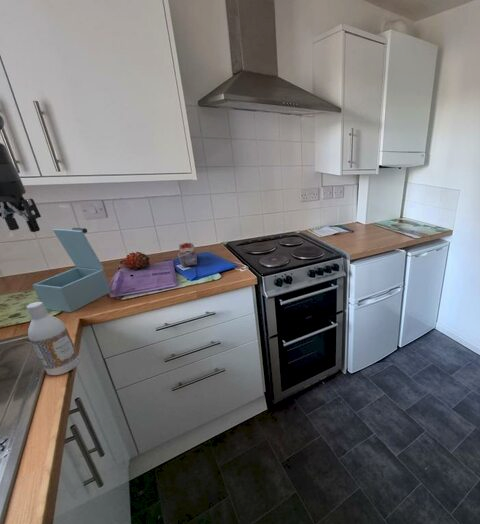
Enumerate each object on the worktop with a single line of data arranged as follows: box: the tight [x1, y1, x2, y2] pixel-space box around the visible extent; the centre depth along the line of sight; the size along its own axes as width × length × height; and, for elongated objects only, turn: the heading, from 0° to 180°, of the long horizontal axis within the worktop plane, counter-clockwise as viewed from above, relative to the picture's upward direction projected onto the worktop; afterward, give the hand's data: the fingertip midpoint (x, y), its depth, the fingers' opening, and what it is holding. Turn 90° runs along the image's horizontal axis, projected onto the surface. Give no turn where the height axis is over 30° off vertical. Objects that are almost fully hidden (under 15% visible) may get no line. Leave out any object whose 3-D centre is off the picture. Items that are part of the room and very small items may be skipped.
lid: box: [52, 227, 104, 270], centre depth 115 cm, size 16×13×5 cm
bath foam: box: [26, 301, 81, 376], centre depth 78 cm, size 7×7×20 cm
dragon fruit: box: [119, 251, 150, 271], centre depth 141 cm, size 8×8×12 cm
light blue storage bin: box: [32, 266, 112, 313], centre depth 113 cm, size 16×13×10 cm
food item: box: [177, 242, 198, 267], centre depth 146 cm, size 14×8×10 cm, turn 31°
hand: (25, 230), depth 97 cm, fingers open, 8 cm apart
